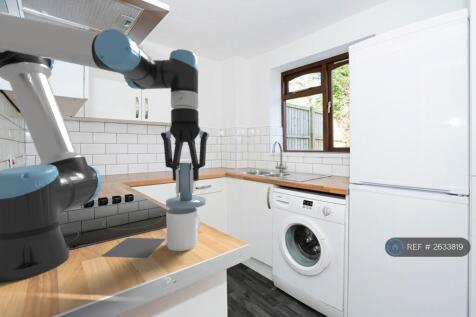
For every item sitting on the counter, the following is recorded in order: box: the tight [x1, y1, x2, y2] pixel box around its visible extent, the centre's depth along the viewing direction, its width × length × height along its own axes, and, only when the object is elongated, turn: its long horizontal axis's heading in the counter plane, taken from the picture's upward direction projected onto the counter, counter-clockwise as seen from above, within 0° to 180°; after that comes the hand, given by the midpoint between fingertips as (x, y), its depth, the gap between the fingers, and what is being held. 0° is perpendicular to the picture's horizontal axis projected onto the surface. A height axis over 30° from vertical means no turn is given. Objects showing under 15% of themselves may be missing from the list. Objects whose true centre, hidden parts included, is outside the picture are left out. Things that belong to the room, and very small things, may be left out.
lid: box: [165, 161, 207, 209], centre depth 65 cm, size 11×11×12 cm
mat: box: [101, 237, 166, 259], centre depth 63 cm, size 12×12×1 cm
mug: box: [165, 208, 201, 252], centre depth 66 cm, size 12×8×10 cm
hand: (186, 192), depth 65 cm, fingers closed on lid, 3 cm apart
